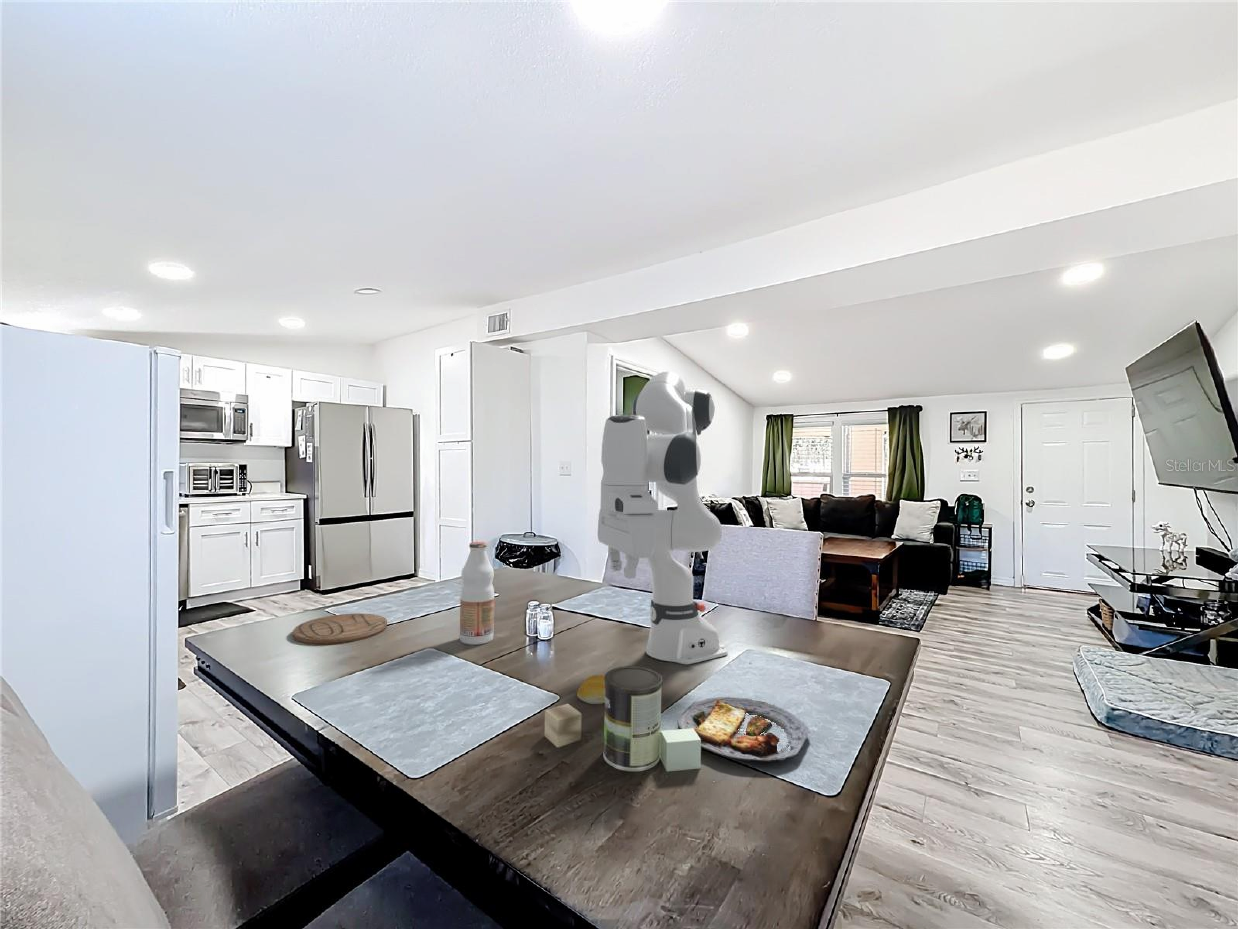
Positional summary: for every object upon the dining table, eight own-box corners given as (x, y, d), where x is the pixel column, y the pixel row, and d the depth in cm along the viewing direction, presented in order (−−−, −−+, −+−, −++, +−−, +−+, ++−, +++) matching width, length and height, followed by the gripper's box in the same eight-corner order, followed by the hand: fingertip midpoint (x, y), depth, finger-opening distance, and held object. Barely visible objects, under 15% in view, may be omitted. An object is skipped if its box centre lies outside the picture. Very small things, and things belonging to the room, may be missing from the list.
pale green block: (692, 756, 96) (693, 728, 96) (700, 768, 92) (700, 739, 92) (660, 759, 95) (660, 731, 95) (666, 772, 91) (667, 742, 91)
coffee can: (599, 770, 91) (601, 687, 91) (606, 739, 101) (607, 664, 101) (660, 774, 90) (662, 690, 90) (661, 742, 100) (662, 667, 100)
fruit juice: (458, 646, 150) (460, 545, 149) (460, 635, 159) (462, 540, 159) (493, 644, 152) (494, 545, 151) (493, 633, 161) (495, 540, 161)
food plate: (785, 786, 87) (785, 764, 87) (658, 745, 100) (658, 726, 100) (818, 727, 109) (818, 710, 109) (710, 700, 121) (710, 684, 121)
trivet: (371, 614, 179) (371, 609, 179) (399, 633, 161) (399, 627, 161) (284, 629, 162) (284, 623, 162) (304, 652, 144) (304, 645, 144)
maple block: (567, 729, 105) (567, 703, 105) (580, 740, 101) (581, 713, 101) (544, 736, 102) (545, 710, 102) (557, 748, 98) (558, 720, 98)
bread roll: (573, 704, 116) (574, 685, 116) (584, 686, 125) (584, 669, 125) (611, 708, 115) (611, 689, 115) (618, 690, 123) (619, 673, 123)
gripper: (590, 496, 110) (589, 564, 110) (628, 505, 91) (627, 587, 91) (619, 496, 112) (618, 562, 112) (662, 504, 93) (661, 584, 93)
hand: (622, 573), depth 101 cm, fingers open, 5 cm apart
